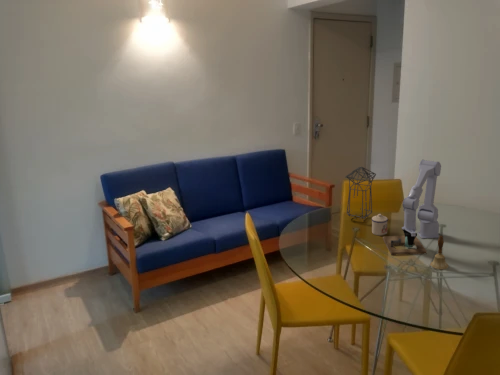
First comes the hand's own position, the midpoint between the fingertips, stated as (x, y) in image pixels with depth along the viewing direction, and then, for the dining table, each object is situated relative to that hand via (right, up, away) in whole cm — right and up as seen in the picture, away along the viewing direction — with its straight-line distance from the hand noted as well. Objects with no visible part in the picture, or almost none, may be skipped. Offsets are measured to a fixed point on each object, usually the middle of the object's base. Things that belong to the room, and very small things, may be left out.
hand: (409, 243), depth 231 cm
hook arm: (-7, -3, +2) cm, 8 cm away
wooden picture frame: (-2, -2, +4) cm, 5 cm away
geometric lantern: (-15, +9, +43) cm, 47 cm away
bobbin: (0, -2, +1) cm, 2 cm away
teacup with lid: (-8, +4, +24) cm, 25 cm away
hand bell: (+8, -9, -19) cm, 22 cm away
